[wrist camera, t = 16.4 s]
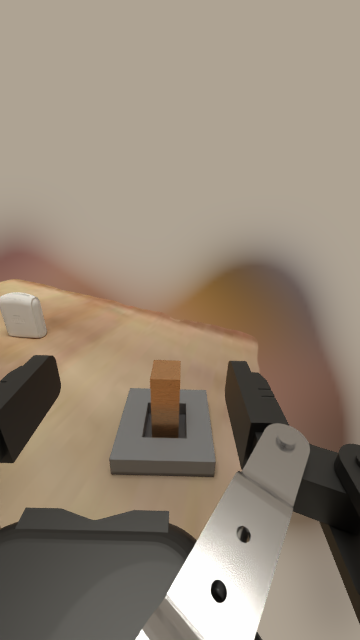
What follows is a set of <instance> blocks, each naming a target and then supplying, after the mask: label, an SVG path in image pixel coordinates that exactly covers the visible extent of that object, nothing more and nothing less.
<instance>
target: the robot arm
mask: <svg viewBox="0 0 360 640" xmlns="http://www.w3.org/2000/svg"><path fill="white" fill-rule="evenodd" d="M60 389H61V382H60V377H59V373H58V368H57V364H56V360H55V357H54V356H47V355H34V356H33V357H32V358H31V359H30V360H29V361H28V362H27V363H25V364H24V365H23V366H20V367H18V368H17V369H15V370H13V371H11V372H10V373H8V374H7V375H6V376H5V377H4V378H3V379H2V380H1V381H0V463H14V462H15V460H16V459H17V457H18V456H19V454H20V453H21V451H22V450H23V448H24V447H25V445H26V444H27V442H28V441H29V439H30V438H31V436H32V435H33V433H34V432H35V430H36V429H37V427H38V426H39V424H40V423H41V421H42V420H43V418H44V417H45V415H46V414H47V412H48V411H49V409H50V408H51V406H52V405H53V403H54V402H55V400H56V399H57V397H58V396H59V393H60ZM225 400H226V405H227V409H228V413H229V418H230V422H231V426H232V431H233V435H234V439H235V443H236V448H237V452H238V456H239V461H240V465H241V469H242V471H241V472H240V471H238V472H237V473H236V474H235V476H234V477H233V479H232V481H231V482H230V484H229V486H228V488H227V489H226V491H225V493H224V495H223V496H222V498H221V500H220V502H219V503H218V505H217V507H216V509H215V510H214V512H213V514H212V516H211V517H210V519H209V521H208V523H207V524H206V526H205V528H204V530H203V531H202V533H201V535H200V537H199V538H198V540H196V539H195V538H194V537H192V536H191V535H190V534H189V533H187V532H186V531H185V530H183V529H181V528H179V527H177V526H175V525H172V524H170V523H169V511H143V510H133V511H129V512H126V513H122V514H118V515H114V516H111V517H107V518H103V519H99V520H91V519H88V518H85V517H83V516H80V515H77V514H74V513H72V512H69V511H66V510H64V509H58V508H25V510H24V512H23V514H22V516H21V518H20V520H19V522H16V523H13V524H10V525H8V526H5V527H3V528H1V527H0V640H262V639H261V637H260V636H259V634H258V632H257V628H258V625H259V621H260V618H261V615H262V611H263V608H264V605H265V601H266V598H267V595H268V592H269V588H270V585H271V582H272V578H273V575H274V572H275V568H276V565H277V562H278V559H279V555H280V551H281V549H282V545H283V542H284V539H285V535H286V532H287V528H288V525H289V522H290V519H291V515H292V512H293V511H294V512H296V513H299V514H302V515H304V516H307V517H310V518H312V519H315V520H317V521H319V522H320V524H321V527H322V529H323V532H324V534H325V537H326V539H327V542H328V544H329V547H330V550H331V552H332V555H333V557H334V560H335V562H336V565H337V567H338V570H339V572H340V575H341V578H342V580H343V583H344V585H345V588H346V590H347V593H348V595H349V598H350V600H351V603H352V605H353V608H354V611H355V613H356V616H357V618H358V621H359V623H360V445H356V444H346V445H343V446H342V447H341V449H340V450H339V452H338V453H337V452H333V451H330V450H327V449H323V448H320V447H317V446H314V445H311V444H309V443H308V441H307V440H306V438H305V437H304V436H303V435H302V434H301V433H300V432H299V431H297V430H296V429H295V428H293V427H291V426H289V424H288V422H287V420H286V418H285V416H284V414H283V412H282V410H281V408H280V406H279V404H278V402H277V400H276V399H275V398H274V394H273V392H272V391H271V388H270V386H269V384H268V382H267V380H265V378H263V377H262V376H261V375H260V374H259V373H253V372H251V371H250V368H249V366H248V364H247V362H246V361H229V363H228V370H227V378H226V385H225Z"/></svg>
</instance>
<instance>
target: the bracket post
mask: <svg viewBox="0 0 360 640" xmlns="http://www.w3.org/2000/svg"><path fill="white" fill-rule="evenodd" d="M150 389H151V422H152V438H178V431H179V401H180V361H168V360H154V362H153V367H152V372H151V378H150Z"/></svg>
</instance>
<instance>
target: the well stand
mask: <svg viewBox="0 0 360 640" xmlns="http://www.w3.org/2000/svg"><path fill="white" fill-rule="evenodd" d="M109 461H110V468H111V474H123V475H164V476H205V477H214V471H215V463H216V461H215V454H214V446H213V439H212V431H211V424H210V417H209V409H208V402H207V394H206V390H180V401H179V431H178V438H152V422H151V389H140V388H130V391H129V394H128V397H127V401H126V404H125V408H124V411H123V414H122V418H121V421H120V425H119V428H118V431H117V435H116V438H115V442H114V445H113V449H112V452H111V455H110V459H109Z"/></svg>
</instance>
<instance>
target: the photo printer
mask: <svg viewBox="0 0 360 640" xmlns="http://www.w3.org/2000/svg"><path fill="white" fill-rule="evenodd" d="M0 309H1V313H2V316H3V319H4V322H5V325H6V329H7V332H8V334H9V335H10V336H17V337H29V338H41V337H43V336H45V335H46V332H47V329H46V325H45V321H44V317H43V313H42V309H41V304H40V301H39V299H38V298H37V297H35V296H33V295H30V294H26V293H18V292H15V293H8V294H5V295H3V296H1V297H0Z"/></svg>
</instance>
